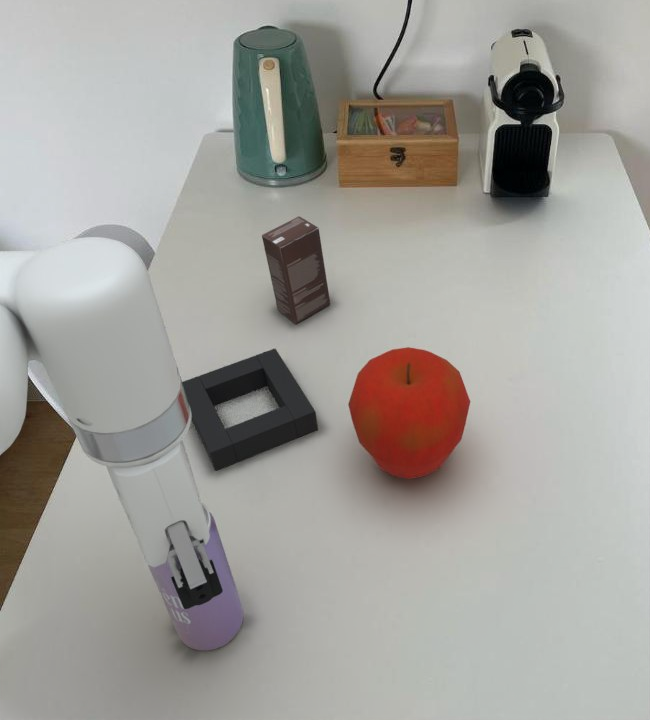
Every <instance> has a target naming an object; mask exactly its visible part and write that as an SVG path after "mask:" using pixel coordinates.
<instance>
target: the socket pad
mask: <svg viewBox="0 0 650 720" xmlns="http://www.w3.org/2000/svg"><path fill="white" fill-rule="evenodd" d="M182 383H183V386H184V390H185V393H186V396H187V399H188V402H189V406H190V409H191V414H192V419H191V423H192V424H193V426H194V428H195V430H196V432H197V434H198V437H199V439H200V441H201V443H202V445H203V447H204V449H205V452H206V453H207V456H208V458H209V460H210V462H211V464H212V466H213V469H214V471H215V472H216V471H219V470H221V469H224V468H226V467H228V466H231V465H234V464H236V463H239V462H241V461H244V460H247V459H249V458H252V457H254V456H256V455H259V454H261V453H264V452H266V451H269V450H271V449H274V448H277V447H278V446H281V445H283V444H286V443H288V442H291V441H293V440H296V439H298V438H301V437H303V436H307V435H308V434H311V433H313V432H316V431H318V430H319V427H318V426H319V425H318V420H317V413H316V410H315V409H314V407H313V405H312V404H311V402H310V401H309V399H308V398H307V395H306V394H305V393H304V391H303V390H302V388H301V386H300V384H299V383H298V382H297V380H296V378H295V377H294V375H293V373H292V372H291V370H290V369H289V368H288V366H287V365H286V363H285V361H284V360H283V358H282V357H281V355H280V354H279V352H278V350H277V348H272V349H269V350H266V351H264V352H261V353H258V354H255V355H252V356H250V357H247V358H244V359H241V360H239V361H236V362H233V363H231V364H227V365H225V366H222V367H220V368H217V369H214V370H212V371H208V372H206V373H203V374H200V375H197V376H195V377H191V378H189V379H186V380H184V381H183V380H182ZM265 387H267V388H268V390H269V392H270V394H271V395H272V397H273V399H274V400H275V402H276V403H277V405H278V408H276V409H272V410H270V411H268V412H265V413H262V414H260V415H257V416H254V417H251V418H250V419H247V420H244V421H241V422H239V423H237V424H234V425H232V426H228V427H227V428H226V427H225V426H224V423H223V421H222V420H221V417H220V415H219V413H218V412H217V410H216V407H215V406H217V405H220V404H223V403H225V402H227V401H230V400H233V399H236V398H238V397H241V396H243V395H246V394H248V393H249V394H250V393H252V392H254V391H257V390H259V389H263V388H265Z"/></svg>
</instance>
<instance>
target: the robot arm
mask: <svg viewBox="0 0 650 720" xmlns="http://www.w3.org/2000/svg"><path fill="white" fill-rule="evenodd" d="M163 319H164V318H163V316H162V312H161V309H160V306H159V303H158V299H157V296H156V293H155V290H154V287H153V283H152V280H151V276H150V274H149V271H148V269H147V266H146V264H145V262H144V260H143V259H142V258H141V256H140V254H138V252H136V251H135V250H134V249H133V248H132V247H130V246H129V245H127V244H125V243H124V242H122V241H121V240H116V239H113V238H107V237H100V236H84V237H78V238H73V239H72V238H71V239H68V240H64V241H62V242H58V243H55V244H53V245H51V246H48V247H46V248H45V249H36V250H33V249H32V250H0V456H1V455H2V454H3V453H4V452H6V451H7V450H8V449H10V447H11V446H12V445H13V444H14V442H15V440H16V439H17V437H18V436H19V434H20V432H21V430H22V427H23V425H24V422H25V419H26V414H27V404H28V403H27V402H28V389H29V388H28V387H29V386H28V385H29V362H30V361H36V362H38V363H40V364H41V365H42V366H43V367H44V369H45V371H46V374H47V376H48V377H49V380H50V382H51V384H52V386H53V389H54V391H55V394H56V396H57V397H58V400H59V402H60V404H61V406H62V408H63V410H64V413H65V414H66V416H67V419H68V422H69V423H70V425H71V427H72V430H73V432H74V434H75V436H76V438H77V441H78V443H79V445H80V447H81V450H82V451H83V453H84V454H85V455H86V457H87V458H89V459H90V460H91V461H93V462H94V463H96V464H98V465H100V466H104V467H106V470H107V472H108V475H109V477H110V480H111V483H112V485H113V488H114V490H115V492H116V495H117V497H118V500H119V501H120V504H121V506H122V509H123V511H124V514H125V515H126V518H127V520H128V522H129V524H130V527H131V529H132V532H133V534H134V536H135V539H136V541H137V544H138V546H139V548H140V551H141V553H142V556H143V559H144V561H145V563H146V565H147V564H148V565H150V566H152V567H157V566H159V565H162V564H165V563H166V560H168V563H169V565H170V568H171V570H172V573H173V577H171V579H172V582H173V584H174V587H175V589H176V591H177V594H178V596H179V599H180V601H181V603H182V606H183V608H184V609H189V608H191V607H193V606H196V605H202V604H204V603H206V602H208V601H210V600H211V599H212V598H213V597H215V596H218V595H220V594H221V593H222V592H223V589H222V587H221V584H220V581H219V578H218V575H217V572H216V569H215V566H214V564H213V561H212V559H211V560H209V559H208V556H207V553H206V551H205V548H204V546H203V543H204V544H205V545H206V544H207V542H208V540H209V538H210V534H209V529H208V526H207V522H206V518H205V514H204V510H203V507H202V503H203V502H202V499H201V495H200V493H199V489H198V486H197V483H196V478H195V476H194V471H193V469H192V465H191V463H190V459H189V457H188V453H187V450H186V447H185V443H184V439H185V437H186V436H187V434H188V433H189V430H190V428H191V424H192V414H191V409H190V406H189V402H188V399H187V396H186V393H185V390H184V386H183V383H182V382H183V379H182V377H181V374H180V372H179V368H178V364H177V362H176V358H175V355H174V352H173V348H172V345H171V341H170V339H169V335H168V331H167V329H166V325H165V322H164V320H163ZM201 502H202V503H201ZM187 530H188V532H190V533H191V536H189V535H188V532H187ZM169 538H171V541H172V543H173V544H170V543H169V541H170V540H169ZM195 547H196V548H197V551H198V553H199V556H200V559H201V560H198V558H197V555H196V553H195V550H194V548H195ZM175 556H178V559H179V561H180V564H181V566H182V568H180V571H179V568H178V565H177V563H176V560H175V558H174V557H175ZM201 561H202V562H201ZM148 565H147V566H148Z"/></svg>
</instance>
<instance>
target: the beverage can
mask: <svg viewBox="0 0 650 720" xmlns="http://www.w3.org/2000/svg"><path fill="white" fill-rule="evenodd" d="M201 503H202V507H203V510H204V514H205V518H206V522H207V526H208V529H209V534H210V538H209V540H208V542H207V544H206V545H205V544H204V543H203V546H204V548H205V551H206V553H207V556H208V559H209V560H211V559H212V561H213V564H214V566H215V569H216V572H217V575H218V578H219V581H220V584H221V587H222V589H223V592H222V593H221V594H220V595H218V596H215V597H213V598H212V599H211V600H210V601H208V602H206V603H204V604H202V605H196V606H193V607H191V608H189V609H184V608H183V606H182V603H181V601H180V599H179V596H178V594H177V591H176V589H175V587H174V584H173V582H172V579H171V577H173V573H172V570H171V568H170V565H169V563H168V560H166V563H165V564H162V565H159V566H157V567H152V566H150V565H148V564H147V563H146V566H147V567H148V569H149V571H150V574H151V576H152V579H153V581H154V583H155V585H156V587H157V590H158V592H159V595H160V597H161V599H162V601H163V604H164V607H165V608H166V610H167V612H168V615H169V617H170V619H171V621H172V624H173V626H174V628H175V631H176V633H177V635H178V637H179V639H180V640H181V642H182V643H183V644H184V645H185V646H187V647H188V648H190V649H193V650H196V651H212V650H216V649H219V648H221V647H223V646H225V645H227V644H228V643H230V641H231V640H232V639H234V638H235V636H236V635H237V634H238V632H239V631H240V629H241V627H242V624H243V622H244V607H243V605H242V601H241V598H240V595H239V592H238V588H237V586H236V582H235V579H234V577H233V573H232V570H231V566H230V564H229V561H228V556H227V555H226V554H227V553H226V551H225V549H224V545H223V542H222V538H221V536H220V532H219V530H218V526H217V523H216V519H215V518H214V515H213V514H212V513H211V511H210V510H209V509H208V506H206V504H205V503H204V502H202V501H201ZM187 532H188V530H187ZM188 535H189V536H191V533H190V532H188ZM169 540H170V541H169V543H170V544H173V543H172V541H171V538H169ZM194 550H195V553H196V555H197V558H198V560H201V559H200V556H199V553H198V551H197V548H196V547H195V548H194ZM174 558H175V560H176V563H177V565H178V568H179V571H180V568H182V566H181V564H180V561H179V559H178V556H175V557H174ZM201 562H202V561H201Z"/></svg>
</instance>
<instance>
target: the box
mask: <svg viewBox="0 0 650 720" xmlns="http://www.w3.org/2000/svg"><path fill="white" fill-rule="evenodd" d="M261 239H262V243H263V247H264V252H265V257H266V261H267V265H268V269H269V270H268V271H269V275H270V280H271V285H272V289H273V295H274V298H275V304H276V309H277V311H278V312H279V313H280V314H282V315H283V316H284V317H286V318H287V319H288V320H290V321H291V322H292V323H294V324H298V323H300V322H301V321H303V320H305V319H307V318H308V317H310V316H312V315H313V314H315V313H317V312H319V311H321V310H322V309H324V308H326V307H328V306H329V305H331V298H330V293H329V292H330V291H329V287H328V286H329V285H328V280H327V274H326V273H327V272H326V266H325V261H324V255H323V248H322V247H323V246H322V242H321V241H322V240H321V234H320V228H319V226H317V225H315V224H313V223H311V222H309V221H308V220H307V219H305V218H303V217H302V216H300V215H299V216H297V217H294V218H293V219H291V220H289V221H287V222H285V223H283V224H280V225H279V226H277V227H275V228H273V229H271V230H268V231H267V232H265V233H263V234H261Z"/></svg>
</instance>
